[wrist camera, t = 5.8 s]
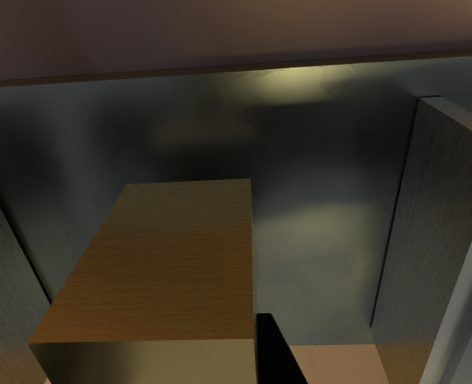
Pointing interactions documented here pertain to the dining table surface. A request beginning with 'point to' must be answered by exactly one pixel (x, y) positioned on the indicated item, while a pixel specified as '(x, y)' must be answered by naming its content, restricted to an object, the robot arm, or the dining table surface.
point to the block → (160, 292)
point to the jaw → (18, 312)
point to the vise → (277, 186)
